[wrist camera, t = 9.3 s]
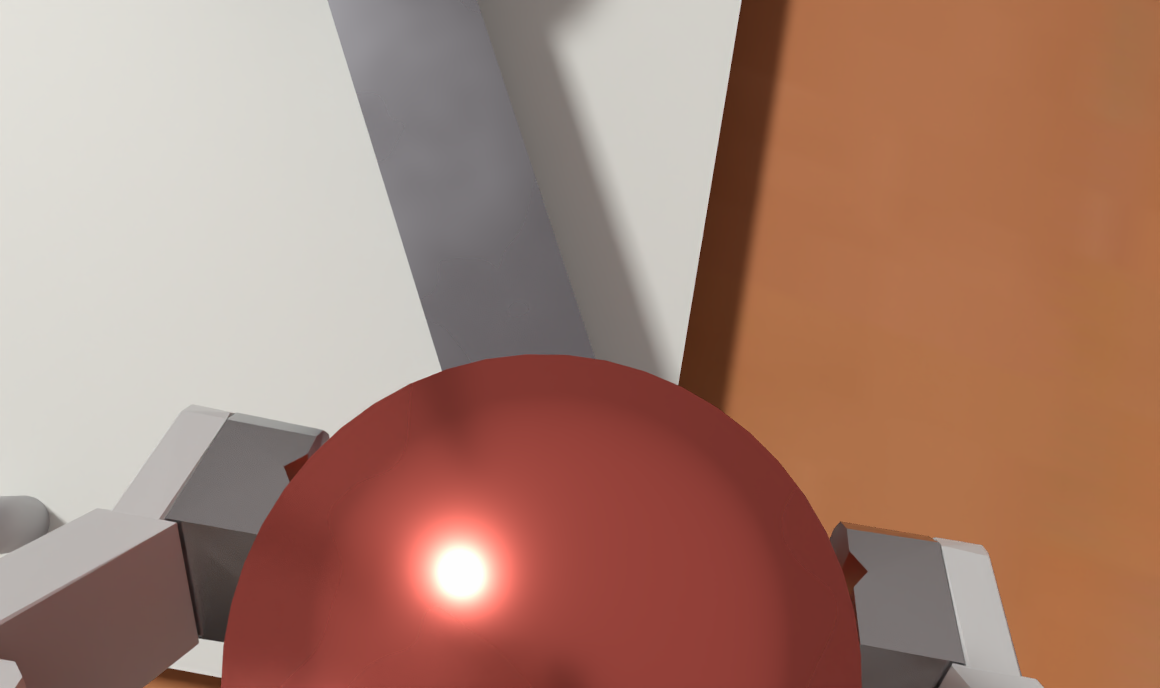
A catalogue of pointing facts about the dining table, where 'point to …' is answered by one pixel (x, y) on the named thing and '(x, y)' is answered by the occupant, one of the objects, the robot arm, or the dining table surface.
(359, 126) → the cracker base
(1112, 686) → the dining table surface
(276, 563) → the lever
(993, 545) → the dining table surface
